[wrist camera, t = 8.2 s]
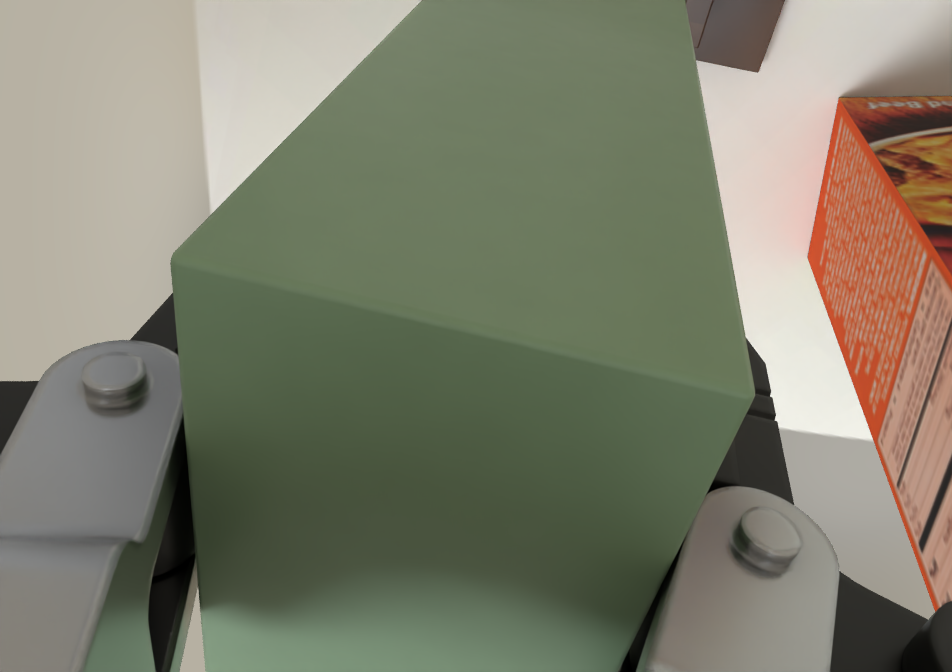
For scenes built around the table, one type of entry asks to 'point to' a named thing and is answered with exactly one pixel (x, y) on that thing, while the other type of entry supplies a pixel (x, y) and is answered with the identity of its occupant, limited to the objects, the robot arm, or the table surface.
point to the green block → (464, 351)
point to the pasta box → (896, 299)
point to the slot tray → (732, 30)
